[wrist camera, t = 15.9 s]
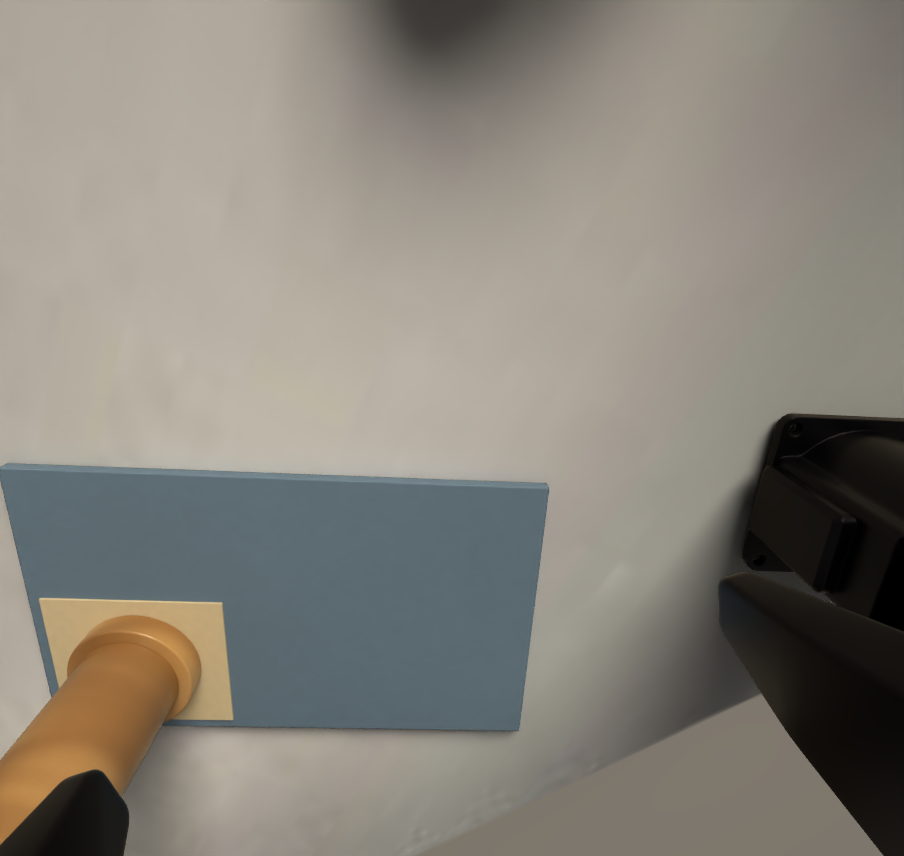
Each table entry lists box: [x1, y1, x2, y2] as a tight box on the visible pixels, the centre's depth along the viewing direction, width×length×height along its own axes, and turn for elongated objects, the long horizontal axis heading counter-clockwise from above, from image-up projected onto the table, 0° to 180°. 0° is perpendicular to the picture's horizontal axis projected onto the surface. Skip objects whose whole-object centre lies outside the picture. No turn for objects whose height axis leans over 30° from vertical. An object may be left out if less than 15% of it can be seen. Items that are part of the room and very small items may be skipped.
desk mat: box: [0, 463, 549, 731], centre depth 22 cm, size 20×12×1 cm, turn 87°
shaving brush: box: [0, 615, 201, 844], centre depth 17 cm, size 5×5×12 cm
